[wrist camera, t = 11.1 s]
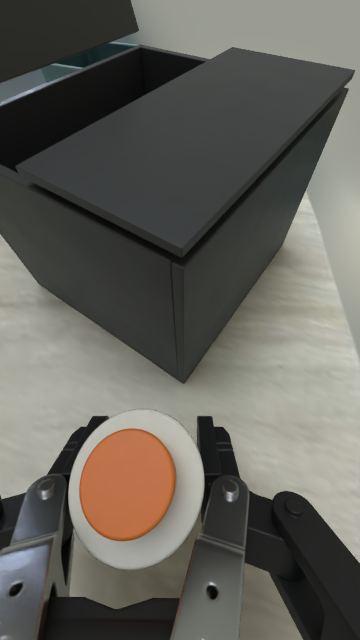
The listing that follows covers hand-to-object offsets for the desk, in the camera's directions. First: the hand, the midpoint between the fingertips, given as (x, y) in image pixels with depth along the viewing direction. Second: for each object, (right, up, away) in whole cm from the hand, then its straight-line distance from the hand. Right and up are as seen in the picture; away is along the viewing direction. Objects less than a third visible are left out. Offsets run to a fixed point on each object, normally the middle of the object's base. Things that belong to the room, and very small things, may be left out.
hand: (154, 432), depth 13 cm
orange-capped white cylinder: (0, -4, +3) cm, 5 cm away
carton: (0, +11, +12) cm, 16 cm away
